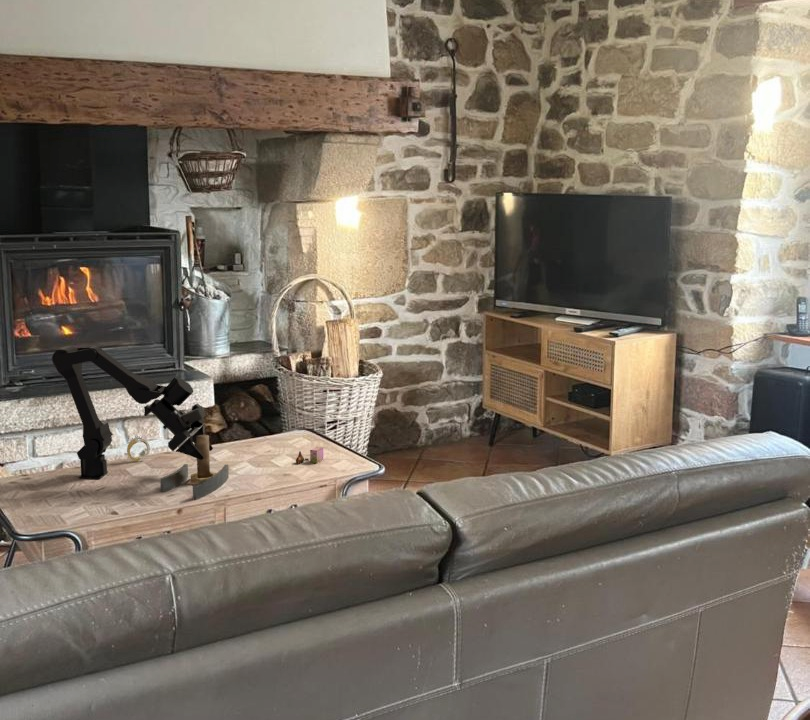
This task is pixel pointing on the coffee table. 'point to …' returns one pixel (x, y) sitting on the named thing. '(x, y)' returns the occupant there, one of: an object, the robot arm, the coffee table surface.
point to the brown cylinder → (203, 464)
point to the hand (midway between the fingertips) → (207, 454)
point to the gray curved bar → (198, 489)
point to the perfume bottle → (312, 455)
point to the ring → (135, 443)
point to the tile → (191, 482)
